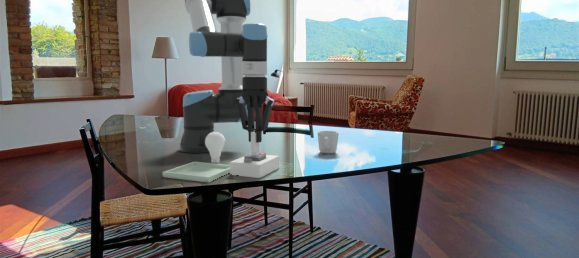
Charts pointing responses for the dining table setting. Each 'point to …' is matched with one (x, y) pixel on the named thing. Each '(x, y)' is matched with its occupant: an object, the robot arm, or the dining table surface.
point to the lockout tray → (198, 171)
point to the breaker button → (255, 157)
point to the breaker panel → (254, 166)
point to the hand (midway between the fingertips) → (255, 152)
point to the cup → (328, 141)
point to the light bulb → (215, 145)
